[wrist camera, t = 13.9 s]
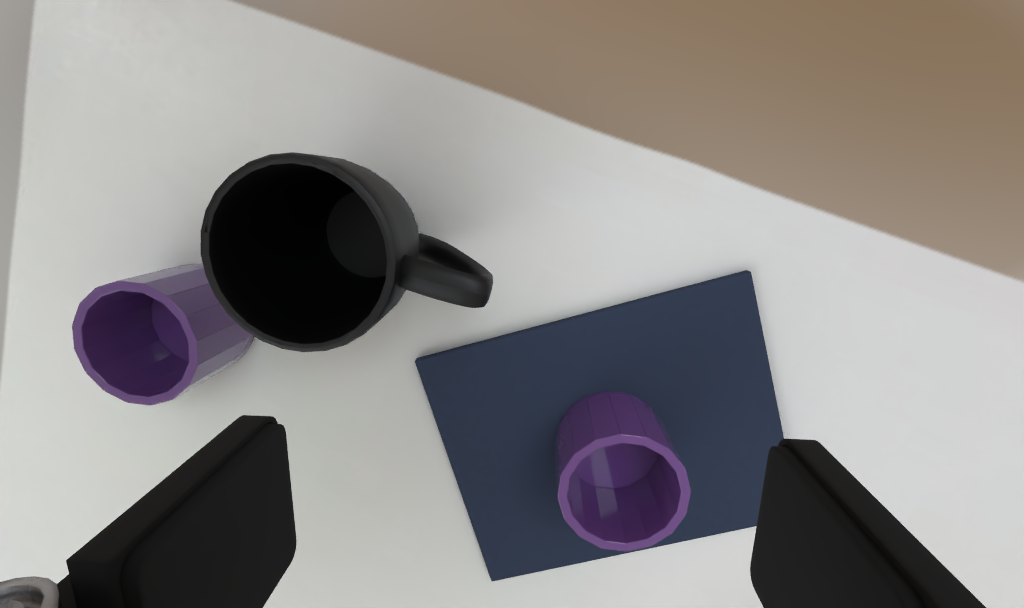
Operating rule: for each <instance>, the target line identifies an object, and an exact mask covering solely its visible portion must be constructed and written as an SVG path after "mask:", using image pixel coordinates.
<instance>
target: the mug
mask: <svg viewBox="0 0 1024 608" xmlns="http://www.w3.org/2000/svg"><path fill="white" fill-rule="evenodd" d="M201 257H202V262H203V266H204V271H205V275H206V278H207V280H208V282H209V284H210V287H211V289H212V291H213V293H214V296H215V297H216V298H217V300H218V301H219V303H220V304H221V305H222V307H223V308H224V310H225V311H226V313H227V314H228V315H229V316H230V317H231V318H232V319H233V320H234V321H235V322H237V323H238V324H239V325H240V326H241V327H242V328H243V329H244V330H246V331H247V332H249V333H250V334H252V335H254V336H255V337H257V338H258V339H260V340H261V341H263V342H266V343H269V344H271V345H274V346H277V347H279V348H282V349H288V350H294V351H300V352H313V351H327V350H330V349H333V348H337V347H340V346H344V345H346V344H348V343H350V342H352V341H353V340H355V339H357V338H358V337H360V336H362V335H364V334H365V333H366V332H367V331H368V330H369V329H370V328H372V327H373V326H374V325H375V324H376V323H377V322H378V321H380V320H381V319H382V318H383V317H384V316H385V315H386V314H387V313H388V312H389V311H390V310H391V309H392V308H393V307H394V306H395V305H396V304H397V303H398V302H399V300H400V298H401V297H402V295H403V294H404V292H405V291H406V290H409V291H412V292H415V293H418V294H421V295H425V296H428V297H431V298H434V299H438V300H441V301H445V302H448V303H452V304H456V305H460V306H465V307H471V308H479V307H484V306H485V305H486V303H487V302H488V300H489V297H490V293H491V290H492V285H493V276H492V274H491V273H490V272H489V271H488V270H487V269H485V268H484V267H483V266H482V265H480V264H479V263H478V262H476V261H475V260H473V259H472V258H470V257H469V256H467V255H466V254H464V253H463V252H461V251H459V250H458V249H456V248H455V247H453V246H451V245H449V244H447V243H445V242H443V241H441V240H439V239H436V238H434V237H431V236H428V235H424V234H420V233H418V226H417V223H416V221H415V218H414V215H413V212H412V210H411V209H410V207H409V206H408V204H407V202H406V201H405V199H404V198H403V197H402V195H401V194H400V193H399V192H398V191H397V190H396V189H395V188H394V187H393V186H392V185H391V184H390V183H389V182H387V181H386V180H384V179H383V178H381V177H380V176H378V175H377V174H375V173H374V172H372V171H371V170H369V169H367V168H364V167H362V166H360V165H357V164H354V163H352V162H349V161H347V160H344V159H338V158H332V157H325V156H318V155H311V154H301V153H282V154H271V155H267V156H265V157H262V158H259V159H256V160H253V161H250V162H248V163H247V164H245V165H244V166H242V167H241V168H239V169H238V170H236V171H235V172H233V173H232V174H231V175H229V177H228V178H227V179H226V180H225V181H224V182H223V183H222V184H221V186H220V187H219V188H218V189H217V190H216V191H215V193H214V195H213V197H212V199H211V201H210V203H209V205H208V207H207V209H206V212H205V216H204V220H203V224H202V229H201Z"/></svg>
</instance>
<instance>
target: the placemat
mask: <svg viewBox="0 0 1024 608" xmlns="http://www.w3.org/2000/svg"><path fill="white" fill-rule="evenodd" d="M415 363H416V366H417V368H418V371H419V374H420V377H421V380H422V383H423V386H424V389H425V391H426V394H427V397H428V400H429V403H430V406H431V409H432V411H433V414H434V417H435V420H436V423H437V426H438V429H439V431H440V434H441V437H442V440H443V443H444V446H445V449H446V452H447V454H448V457H449V460H450V463H451V466H452V469H453V472H454V474H455V477H456V480H457V483H458V486H459V489H460V492H461V494H462V497H463V500H464V503H465V506H466V509H467V512H468V515H469V517H470V520H471V523H472V526H473V529H474V532H475V535H476V537H477V540H478V543H479V546H480V549H481V552H482V555H483V558H484V560H485V563H486V566H487V569H488V572H489V575H490V578H491V580H492V581H496V580H501V579H505V578H510V577H515V576H520V575H524V574H529V573H534V572H539V571H544V570H548V569H553V568H558V567H563V566H567V565H572V564H577V563H582V562H587V561H591V560H596V559H601V558H606V557H610V556H615V555H620V554H625V553H630V552H634V551H639V550H644V549H649V548H653V547H658V546H663V545H668V544H673V543H677V542H682V541H687V540H692V539H696V538H701V537H706V536H711V535H716V534H720V533H725V532H730V531H735V530H739V529H744V528H749V527H754V526H757V522H758V515H759V509H760V503H761V496H762V490H763V484H764V477H765V471H766V465H767V459H768V453H769V450H770V448H771V447H772V446H778V444H779V442H780V441H781V440H782V439H784V437H783V432H782V427H781V422H780V417H779V412H778V407H777V402H776V396H775V391H774V386H773V381H772V376H771V371H770V366H769V361H768V356H767V351H766V346H765V341H764V336H763V331H762V326H761V321H760V316H759V311H758V306H757V301H756V296H755V291H754V286H753V281H752V276H751V272H750V271H747V270H746V271H742V272H738V273H734V274H731V275H727V276H723V277H719V278H716V279H712V280H708V281H704V282H701V283H697V284H693V285H689V286H686V287H682V288H678V289H674V290H671V291H667V292H663V293H659V294H656V295H652V296H648V297H644V298H641V299H637V300H633V301H629V302H626V303H622V304H618V305H614V306H611V307H607V308H603V309H599V310H596V311H592V312H588V313H584V314H581V315H577V316H573V317H569V318H566V319H562V320H558V321H554V322H551V323H547V324H543V325H539V326H536V327H532V328H528V329H524V330H521V331H517V332H513V333H509V334H506V335H502V336H498V337H494V338H491V339H487V340H483V341H479V342H476V343H472V344H468V345H464V346H461V347H457V348H453V349H449V350H446V351H442V352H438V353H434V354H431V355H427V356H423V357H419V358H417V359H416V361H415ZM606 391H616V392H623V393H627V394H631V395H633V396H636V397H638V398H640V399H641V400H643V401H644V402H646V403H647V404H648V405H649V406H651V408H652V409H653V410H654V411H655V412H656V414H657V415H658V416H659V418H660V420H661V421H662V422H663V424H664V426H665V428H666V430H667V432H668V434H669V436H670V438H671V440H672V442H673V444H674V446H675V448H676V450H677V452H678V454H679V456H680V458H681V460H682V462H683V464H684V467H685V469H686V472H687V476H688V480H689V484H690V488H691V494H690V498H689V503H688V508H687V513H686V515H685V517H684V518H683V519H682V521H681V522H680V523H679V525H678V526H677V527H676V529H675V530H674V532H673V533H671V534H670V535H669V536H667V537H665V538H664V539H662V540H661V541H659V542H657V543H656V544H654V545H652V546H650V547H646V548H641V549H636V550H632V551H618V550H610V549H603V548H600V547H598V546H596V545H594V544H592V543H590V542H588V541H586V540H584V539H582V538H581V537H579V536H578V535H577V533H576V532H575V531H574V530H573V529H572V528H571V527H570V525H569V524H568V523H567V522H566V521H565V519H564V518H563V514H562V511H561V508H560V505H559V501H558V498H557V477H556V455H555V447H556V434H557V429H558V426H559V423H560V421H561V419H562V418H563V416H564V415H565V413H566V412H567V411H568V410H569V409H570V408H571V406H573V405H574V404H575V403H576V402H578V401H579V400H581V399H583V398H585V397H587V396H589V395H592V394H595V393H599V392H606Z"/></svg>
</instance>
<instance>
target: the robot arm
mask: <svg viewBox="0 0 1024 608" xmlns="http://www.w3.org/2000/svg"><path fill="white" fill-rule="evenodd" d="M295 550H296V532H295V522H294V512H293V501H292V491H291V481H290V471H289V461H288V451H287V441H286V432H285V428H284V426H283V425H282V424H278V423H277V421H276V419H275V418H274V417H271V416H248V415H243V416H241V417H239V418H238V419H237V420H235V421H234V422H233V423H232V424H230V425H229V426H228V427H227V428H226V429H224V430H223V431H222V432H221V433H220V434H218V435H217V436H216V437H215V438H214V439H212V440H211V441H210V442H209V443H207V444H206V445H205V446H204V447H203V448H201V449H200V450H199V451H198V452H197V453H195V454H194V455H193V456H192V457H191V458H189V459H188V460H187V461H186V462H185V463H183V464H182V465H181V466H180V467H178V468H177V469H176V470H175V471H174V472H172V473H171V474H170V475H169V476H168V477H166V478H165V479H164V480H163V481H162V482H160V483H159V484H158V485H157V486H156V487H154V488H153V489H152V490H151V491H149V492H148V493H147V494H146V495H145V496H143V497H142V498H141V499H140V500H139V501H137V502H136V503H135V504H134V505H133V506H131V507H130V508H129V509H128V510H127V511H125V512H124V513H123V514H122V515H120V516H119V517H118V518H117V519H116V520H114V521H113V522H112V523H111V524H110V525H108V526H107V527H106V528H105V529H104V530H102V531H101V532H100V533H99V534H98V535H96V536H95V537H94V538H93V539H91V540H90V541H89V542H88V543H87V544H85V545H84V546H83V547H82V548H81V549H79V550H78V551H77V552H76V553H75V554H73V555H72V556H71V557H70V558H69V559H67V560H66V562H67V566H68V570H69V575H67V576H66V577H65V578H64V579H63V580H62V581H60V582H59V583H58V584H56V583H54V582H53V581H51V580H50V579H48V578H42V577H34V576H33V577H23V578H15V579H11V580H7V581H3V582H0V608H263V606H264V604H265V603H266V601H267V600H268V598H269V597H270V595H271V593H272V592H273V590H274V589H275V587H276V586H277V584H278V582H279V581H280V579H281V578H282V576H283V574H284V573H285V571H286V570H287V568H288V567H289V565H290V563H291V562H292V560H293V557H294V554H295ZM750 572H751V580H752V584H753V587H754V589H755V591H756V593H757V595H758V597H759V599H760V601H761V603H762V605H763V607H764V608H986V607H985V606H984V605H983V604H982V603H981V602H980V601H979V600H978V599H977V598H976V597H975V596H974V595H973V594H972V593H971V592H970V591H969V590H968V589H967V588H966V587H965V586H964V585H963V584H962V583H961V582H960V581H959V580H958V579H957V578H956V577H955V576H954V575H953V574H952V573H950V572H949V571H948V570H947V569H946V568H945V567H944V566H943V565H942V564H941V563H940V562H939V561H938V560H937V559H936V558H935V557H934V556H933V555H932V554H931V553H930V552H929V551H928V550H927V549H926V548H925V547H924V546H923V545H922V544H921V543H920V542H919V541H918V540H917V539H916V538H915V537H914V536H913V535H912V534H911V533H910V532H909V531H908V530H907V529H906V528H905V527H904V526H903V525H902V524H901V523H900V522H899V521H898V520H897V519H896V518H895V517H894V516H893V515H892V514H891V513H890V512H889V511H888V510H887V509H886V508H885V507H884V506H883V505H882V504H881V503H880V502H879V501H878V500H877V499H876V498H875V497H874V496H873V495H872V494H871V493H870V492H869V491H868V490H867V489H866V488H865V487H864V486H863V485H862V484H861V483H860V482H859V481H858V480H857V479H856V478H855V477H854V476H853V475H852V474H851V473H850V472H849V471H848V470H847V469H846V468H845V467H844V466H843V465H842V464H841V463H839V462H838V461H837V460H836V459H835V458H834V457H833V456H832V455H831V454H830V453H829V452H828V451H827V450H826V449H825V448H824V447H823V446H822V445H821V444H820V443H819V442H818V441H816V440H800V439H782V440H781V441H780V442H779V444H778V446H772V447H771V448H770V450H769V453H768V459H767V465H766V471H765V477H764V484H763V490H762V496H761V503H760V509H759V515H758V522H757V528H756V534H755V540H754V547H753V553H752V559H751V567H750Z"/></svg>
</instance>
